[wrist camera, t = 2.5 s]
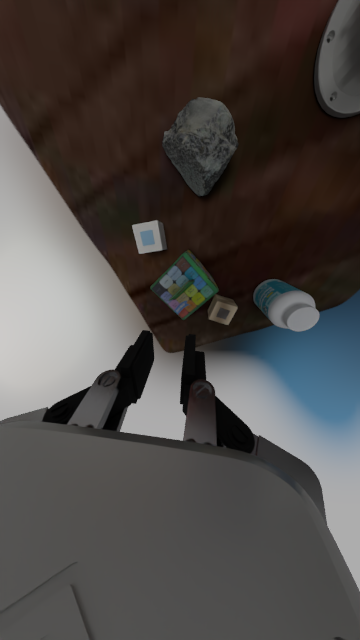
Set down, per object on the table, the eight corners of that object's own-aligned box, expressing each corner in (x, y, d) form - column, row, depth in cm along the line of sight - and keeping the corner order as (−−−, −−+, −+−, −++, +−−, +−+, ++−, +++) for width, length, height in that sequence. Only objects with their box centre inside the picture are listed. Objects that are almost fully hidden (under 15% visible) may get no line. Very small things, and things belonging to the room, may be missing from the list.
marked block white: (162, 223, 31) (157, 220, 26) (167, 249, 33) (162, 250, 29) (140, 227, 32) (131, 225, 27) (146, 252, 34) (138, 253, 29)
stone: (166, 159, 19) (246, 98, 16) (151, 116, 21) (217, 56, 18) (189, 218, 28) (243, 187, 24) (176, 182, 30) (224, 150, 27)
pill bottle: (255, 278, 34) (286, 297, 22) (289, 278, 33) (339, 298, 21) (249, 307, 38) (273, 337, 26) (279, 307, 37) (318, 338, 25)
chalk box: (186, 301, 39) (181, 331, 26) (161, 275, 36) (142, 295, 23) (214, 277, 35) (224, 298, 22) (189, 247, 32) (183, 251, 19)
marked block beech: (233, 299, 37) (238, 307, 33) (224, 316, 40) (228, 325, 35) (214, 293, 37) (217, 301, 32) (207, 310, 39) (208, 319, 35)
